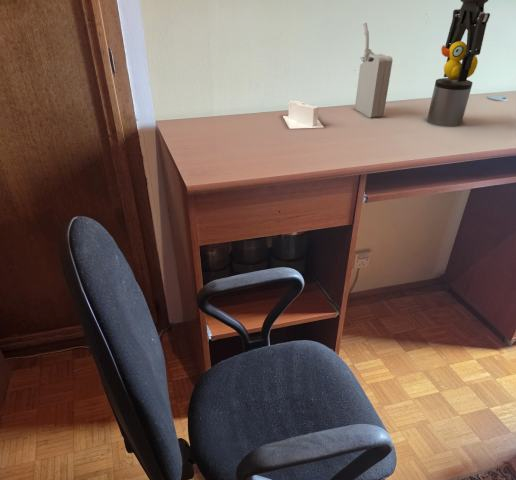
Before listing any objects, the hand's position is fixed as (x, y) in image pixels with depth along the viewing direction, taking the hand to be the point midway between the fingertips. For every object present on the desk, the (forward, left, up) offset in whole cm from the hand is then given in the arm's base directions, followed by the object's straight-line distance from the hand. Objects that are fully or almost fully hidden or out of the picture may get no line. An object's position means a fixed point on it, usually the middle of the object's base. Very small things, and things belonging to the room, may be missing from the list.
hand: (454, 78), depth 140 cm
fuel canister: (+5, +26, -13) cm, 29 cm away
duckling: (0, 0, 0) cm, 0 cm away
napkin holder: (-13, +45, -13) cm, 48 cm away
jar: (0, 0, -12) cm, 12 cm away
